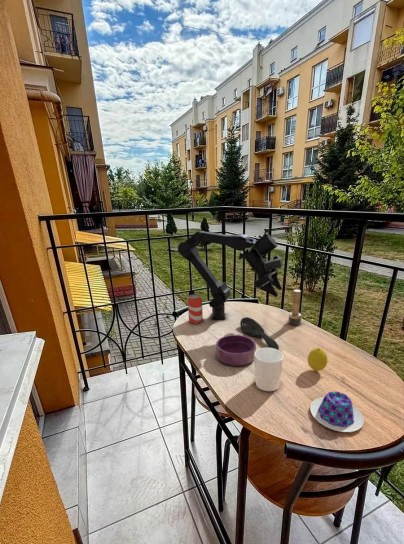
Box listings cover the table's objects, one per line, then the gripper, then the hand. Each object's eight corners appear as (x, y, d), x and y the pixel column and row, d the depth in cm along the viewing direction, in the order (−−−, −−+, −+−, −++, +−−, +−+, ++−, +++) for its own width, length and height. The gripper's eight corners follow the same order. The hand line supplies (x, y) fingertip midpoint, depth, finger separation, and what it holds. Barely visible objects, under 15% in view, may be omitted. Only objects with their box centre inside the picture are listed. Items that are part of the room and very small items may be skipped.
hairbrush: (267, 347, 96) (236, 316, 118) (266, 356, 97) (236, 324, 119) (288, 342, 98) (253, 313, 120) (287, 351, 100) (253, 321, 121)
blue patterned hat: (300, 403, 74) (302, 387, 72) (340, 395, 76) (343, 379, 74) (329, 439, 63) (332, 421, 61) (375, 428, 65) (379, 410, 63)
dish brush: (287, 320, 122) (289, 288, 117) (298, 320, 122) (301, 288, 116) (289, 325, 117) (292, 292, 112) (301, 325, 117) (305, 292, 112)
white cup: (276, 396, 77) (278, 365, 73) (249, 387, 81) (250, 357, 77) (284, 381, 83) (287, 351, 79) (259, 373, 87) (260, 345, 83)
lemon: (316, 378, 83) (319, 354, 81) (302, 369, 88) (305, 346, 85) (329, 372, 86) (333, 349, 83) (315, 364, 90) (318, 342, 88)
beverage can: (195, 325, 121) (193, 299, 116) (186, 321, 125) (184, 296, 121) (205, 321, 124) (204, 296, 120) (196, 317, 129) (195, 292, 125)
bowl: (217, 346, 103) (216, 334, 101) (253, 347, 102) (253, 334, 100) (216, 367, 91) (215, 353, 89) (257, 367, 90) (257, 354, 88)
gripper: (268, 254, 100) (293, 289, 101) (276, 245, 116) (298, 276, 117) (244, 271, 106) (268, 304, 107) (255, 261, 122) (276, 289, 123)
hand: (279, 292), depth 113 cm, fingers open, 9 cm apart
